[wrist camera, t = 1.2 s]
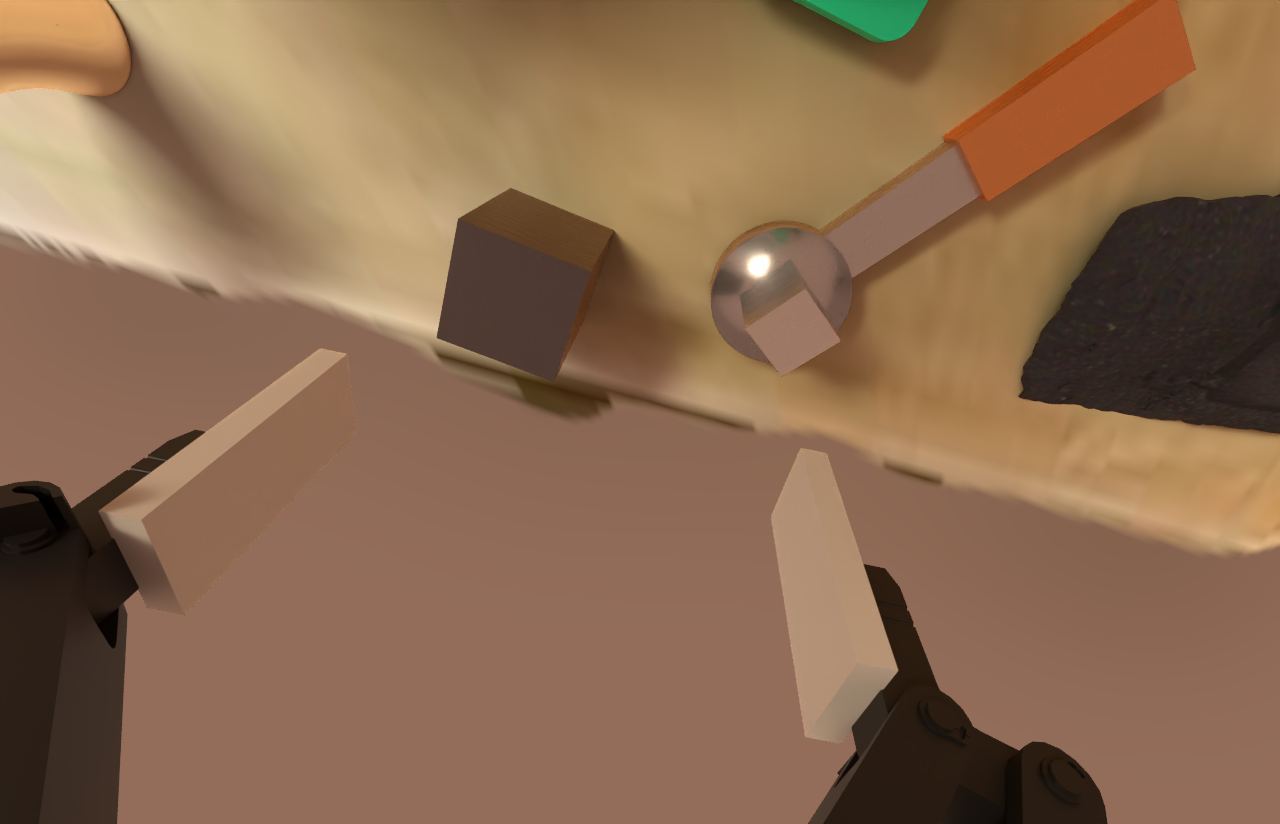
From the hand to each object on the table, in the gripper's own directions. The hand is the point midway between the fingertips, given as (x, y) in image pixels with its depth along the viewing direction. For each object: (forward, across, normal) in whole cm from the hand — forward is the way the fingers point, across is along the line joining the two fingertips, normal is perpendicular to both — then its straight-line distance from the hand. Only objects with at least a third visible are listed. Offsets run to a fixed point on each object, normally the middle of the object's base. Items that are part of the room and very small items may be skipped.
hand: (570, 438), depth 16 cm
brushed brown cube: (+20, -5, -2) cm, 21 cm away
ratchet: (+20, +14, +6) cm, 25 cm away
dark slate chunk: (+20, +35, +4) cm, 41 cm away
